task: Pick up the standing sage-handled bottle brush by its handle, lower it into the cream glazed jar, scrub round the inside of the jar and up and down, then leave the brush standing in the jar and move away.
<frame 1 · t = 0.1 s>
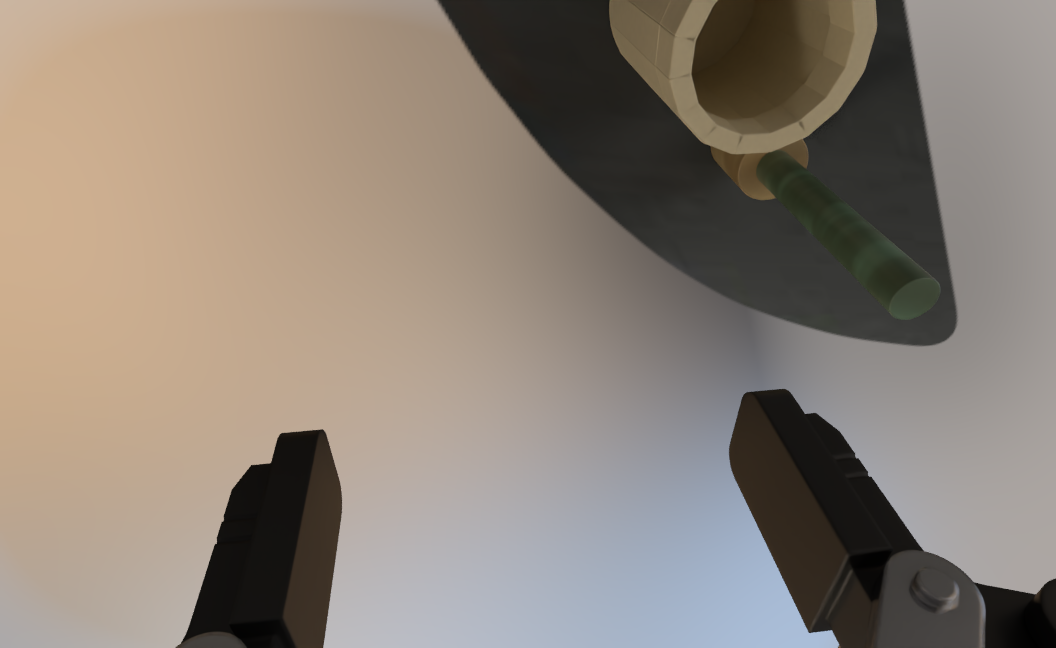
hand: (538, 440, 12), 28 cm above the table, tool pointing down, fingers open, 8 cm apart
brush: (742, 137, 39), on the table
jar: (684, 1, 34), on the table
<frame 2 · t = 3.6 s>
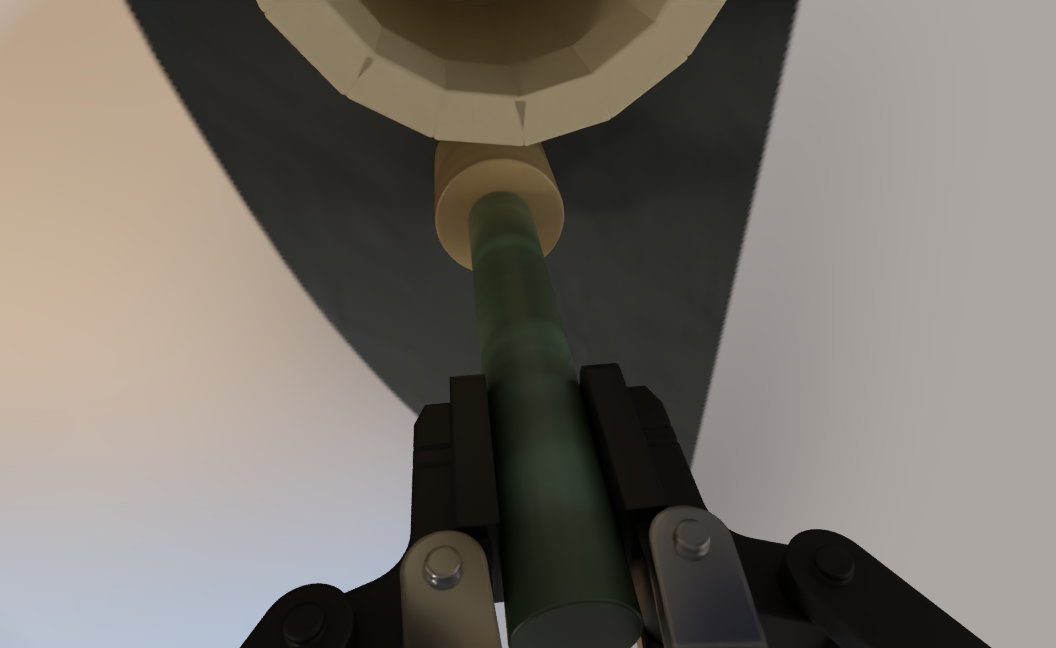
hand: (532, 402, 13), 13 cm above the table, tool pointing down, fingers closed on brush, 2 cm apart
brush: (490, 163, 23), on the table, touching gripper
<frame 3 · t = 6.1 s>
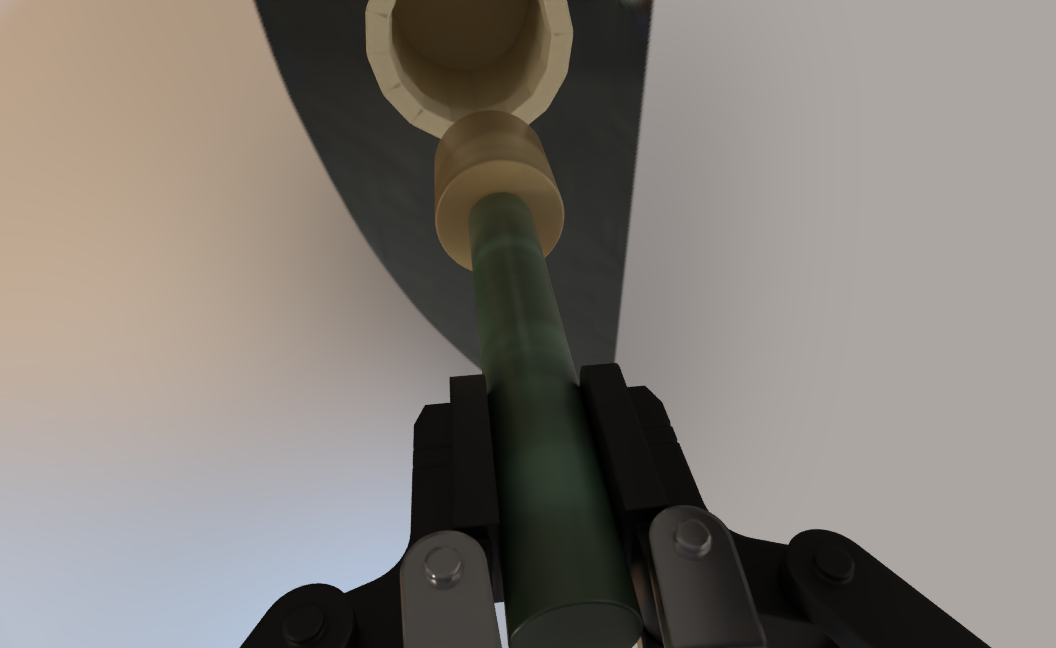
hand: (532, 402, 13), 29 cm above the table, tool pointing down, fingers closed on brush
brush: (490, 164, 23), point 16 cm above the table, touching gripper
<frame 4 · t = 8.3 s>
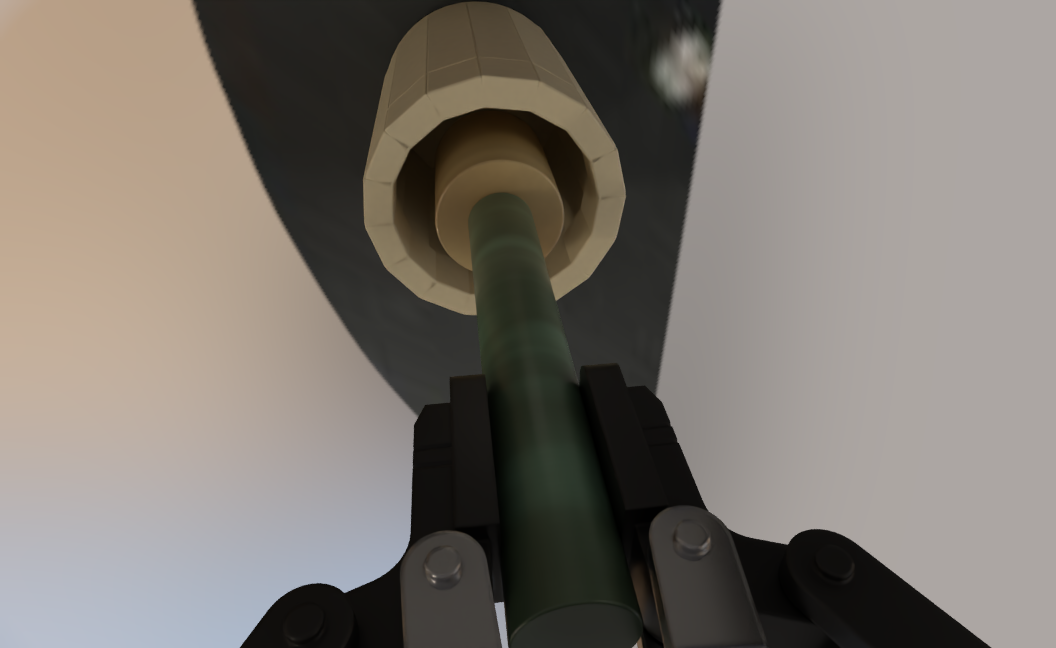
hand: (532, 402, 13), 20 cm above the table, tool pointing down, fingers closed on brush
brush: (490, 164, 23), point 7 cm above the table, touching gripper
jar: (477, 100, 29), on the table
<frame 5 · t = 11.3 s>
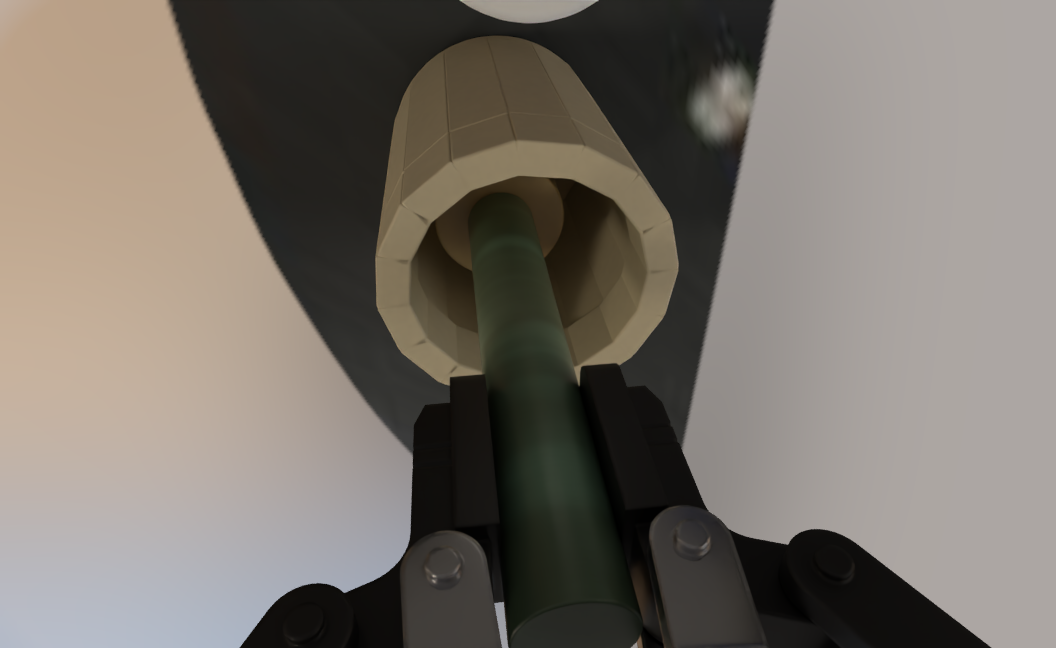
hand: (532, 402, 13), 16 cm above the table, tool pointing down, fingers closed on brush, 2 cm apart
brush: (489, 164, 23), point 3 cm above the table, touching gripper
jar: (497, 142, 26), on the table
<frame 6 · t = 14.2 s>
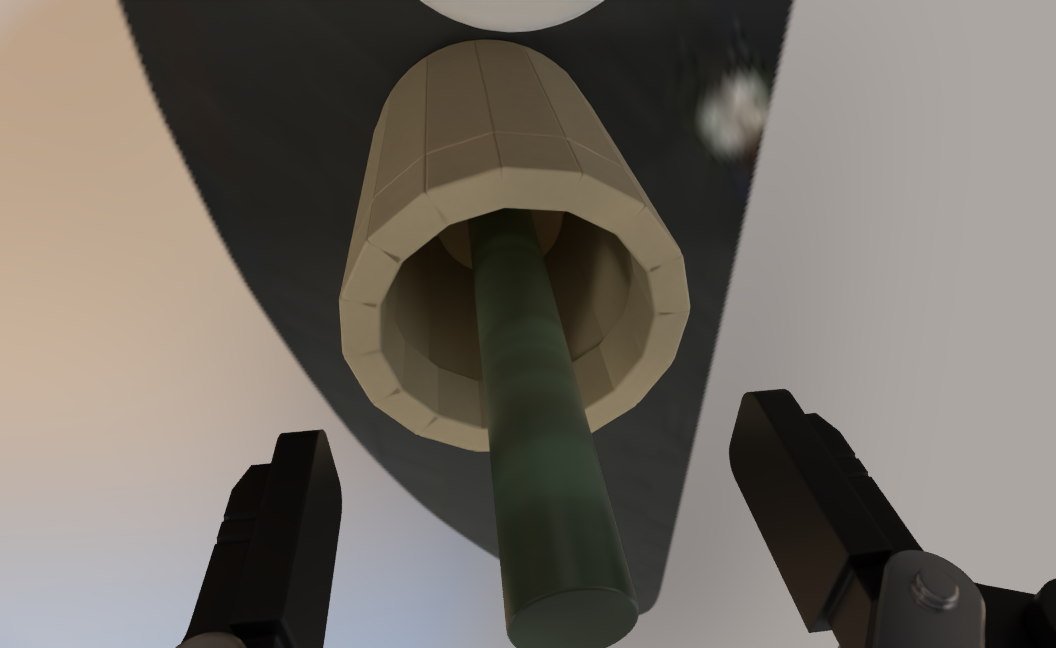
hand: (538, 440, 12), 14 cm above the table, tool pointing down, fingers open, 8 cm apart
brush: (489, 164, 23), point 1 cm above the table, touching jar
jar: (487, 155, 24), on the table
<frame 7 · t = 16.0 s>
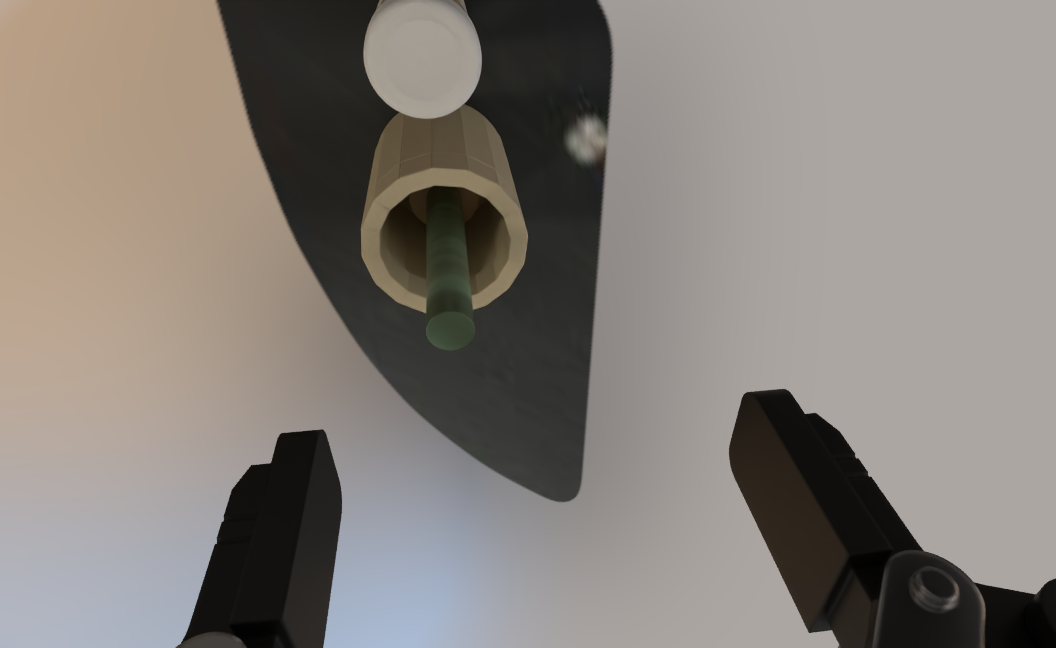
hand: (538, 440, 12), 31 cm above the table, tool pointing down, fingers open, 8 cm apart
brush: (442, 168, 40), point 1 cm above the table, touching jar
sprinkles bottle: (424, 2, 35), on the table
jar: (441, 164, 41), on the table
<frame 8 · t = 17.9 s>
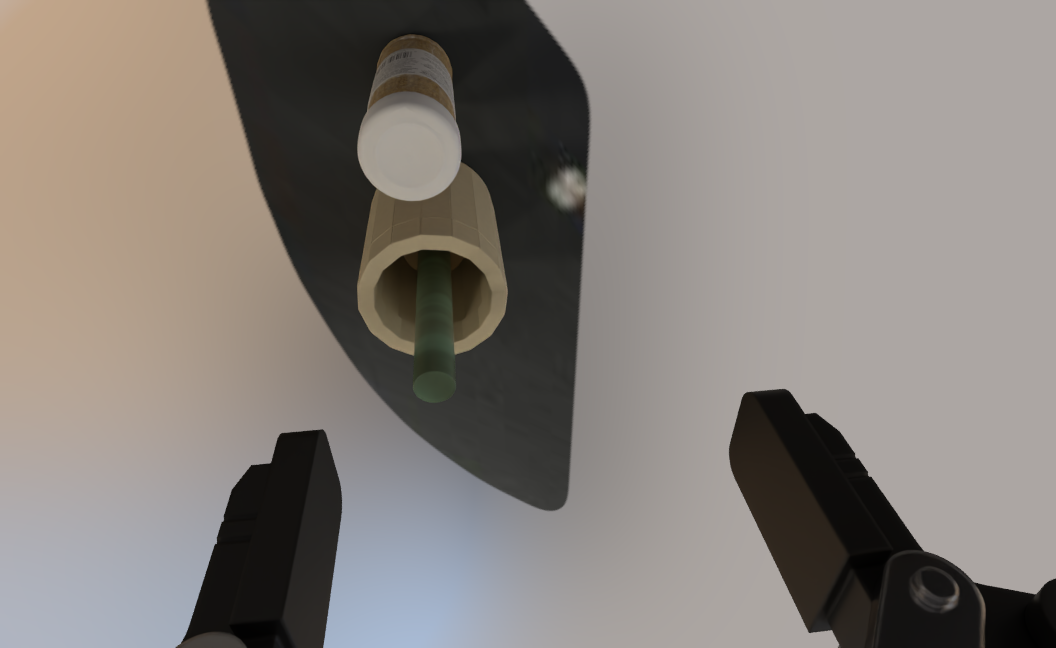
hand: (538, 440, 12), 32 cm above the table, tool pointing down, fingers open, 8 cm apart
brush: (434, 216, 44), point 1 cm above the table, touching jar
sprinkles bottle: (415, 70, 39), on the table
jar: (433, 211, 44), on the table
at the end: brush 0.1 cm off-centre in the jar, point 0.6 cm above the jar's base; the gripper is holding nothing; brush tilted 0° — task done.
